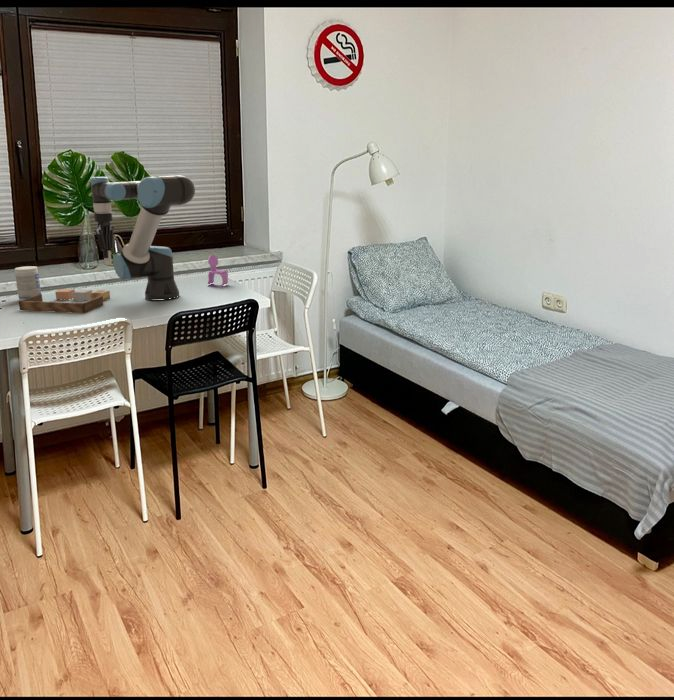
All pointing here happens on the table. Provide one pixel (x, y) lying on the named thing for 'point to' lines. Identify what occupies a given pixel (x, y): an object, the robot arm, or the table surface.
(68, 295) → the terracotta tile
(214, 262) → the toy chair
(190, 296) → the table surface
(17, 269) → the supplement tub
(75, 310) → the frame
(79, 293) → the grey tile
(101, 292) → the oak tile
